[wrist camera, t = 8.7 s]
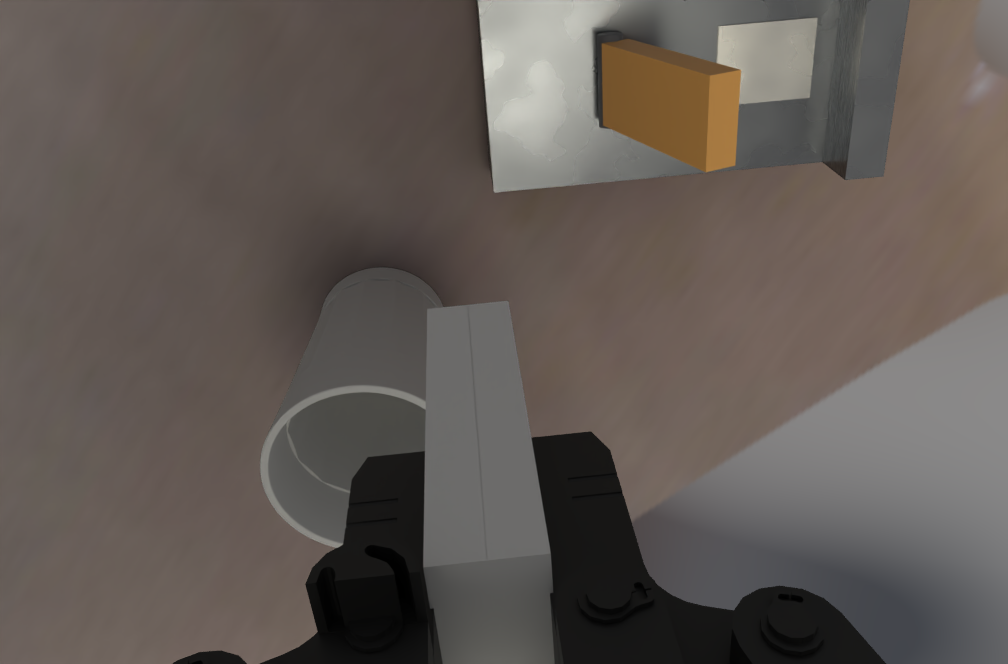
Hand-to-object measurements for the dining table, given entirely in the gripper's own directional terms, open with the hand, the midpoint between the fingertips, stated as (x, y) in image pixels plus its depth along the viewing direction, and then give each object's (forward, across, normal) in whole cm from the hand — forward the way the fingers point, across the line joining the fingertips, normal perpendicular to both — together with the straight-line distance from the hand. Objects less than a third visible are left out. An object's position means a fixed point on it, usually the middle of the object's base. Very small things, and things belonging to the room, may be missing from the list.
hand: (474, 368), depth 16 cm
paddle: (+21, +6, 0) cm, 21 cm away
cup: (+25, -5, -12) cm, 28 cm away
